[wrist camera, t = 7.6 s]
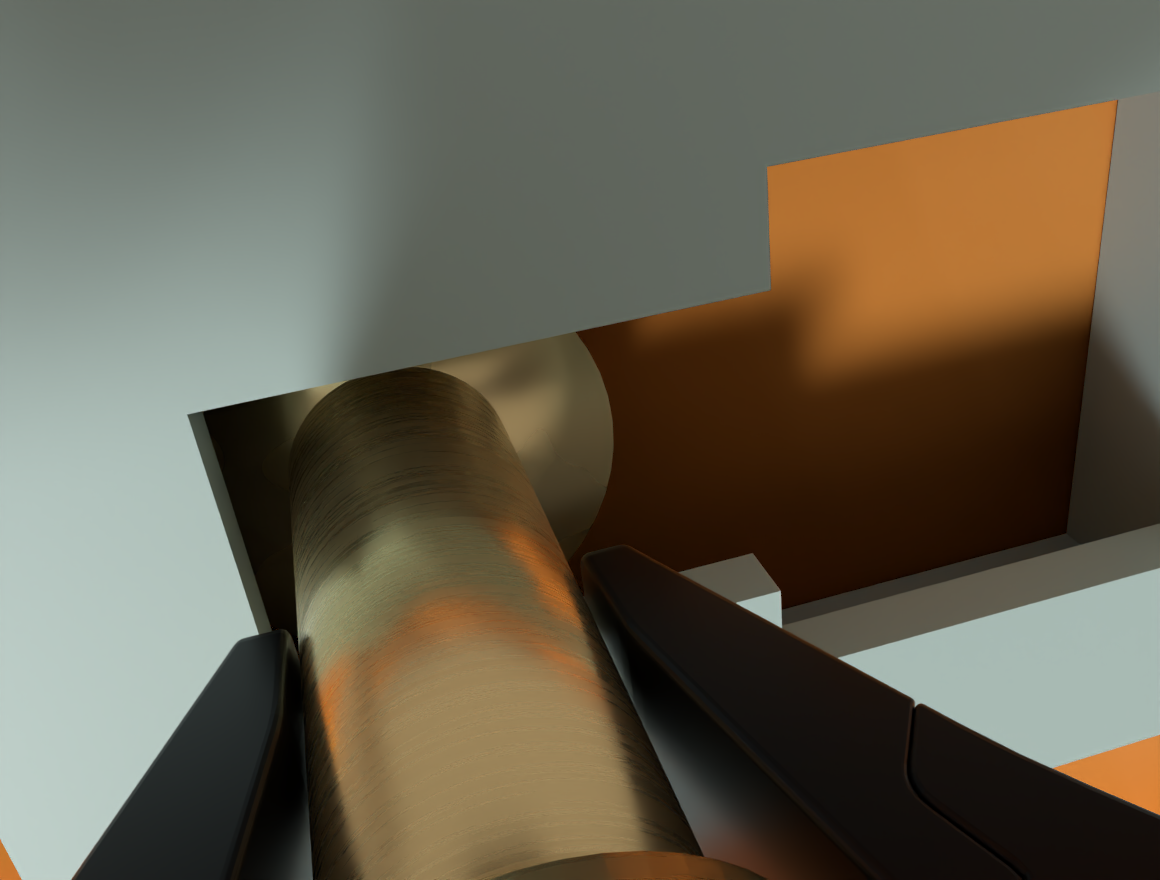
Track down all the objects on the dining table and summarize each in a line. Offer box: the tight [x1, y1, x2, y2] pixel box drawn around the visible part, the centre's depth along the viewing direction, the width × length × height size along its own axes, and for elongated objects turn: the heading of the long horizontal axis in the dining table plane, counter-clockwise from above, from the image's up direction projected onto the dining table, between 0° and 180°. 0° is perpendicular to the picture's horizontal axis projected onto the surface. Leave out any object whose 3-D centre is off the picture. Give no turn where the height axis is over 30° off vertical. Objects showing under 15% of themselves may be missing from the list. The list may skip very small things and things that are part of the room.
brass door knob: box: [202, 332, 768, 880], centre depth 9 cm, size 5×5×9 cm
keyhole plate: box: [0, 0, 1160, 880], centre depth 13 cm, size 16×12×3 cm
